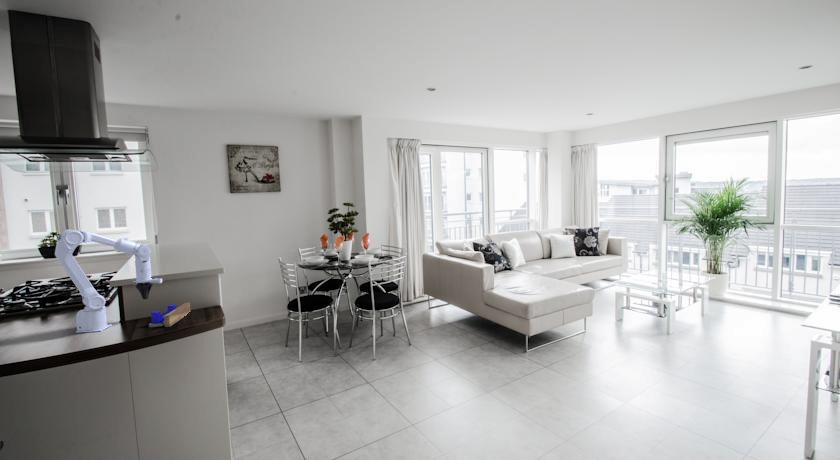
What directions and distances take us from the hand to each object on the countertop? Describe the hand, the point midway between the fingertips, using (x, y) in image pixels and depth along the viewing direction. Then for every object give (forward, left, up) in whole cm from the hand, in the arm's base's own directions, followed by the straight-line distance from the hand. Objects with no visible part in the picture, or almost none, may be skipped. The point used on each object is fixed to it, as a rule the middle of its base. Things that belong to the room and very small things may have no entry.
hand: (145, 298), depth 178 cm
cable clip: (+10, -6, -10) cm, 15 cm away
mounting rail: (+10, -4, -9) cm, 15 cm away
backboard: (+16, -4, -9) cm, 19 cm away
